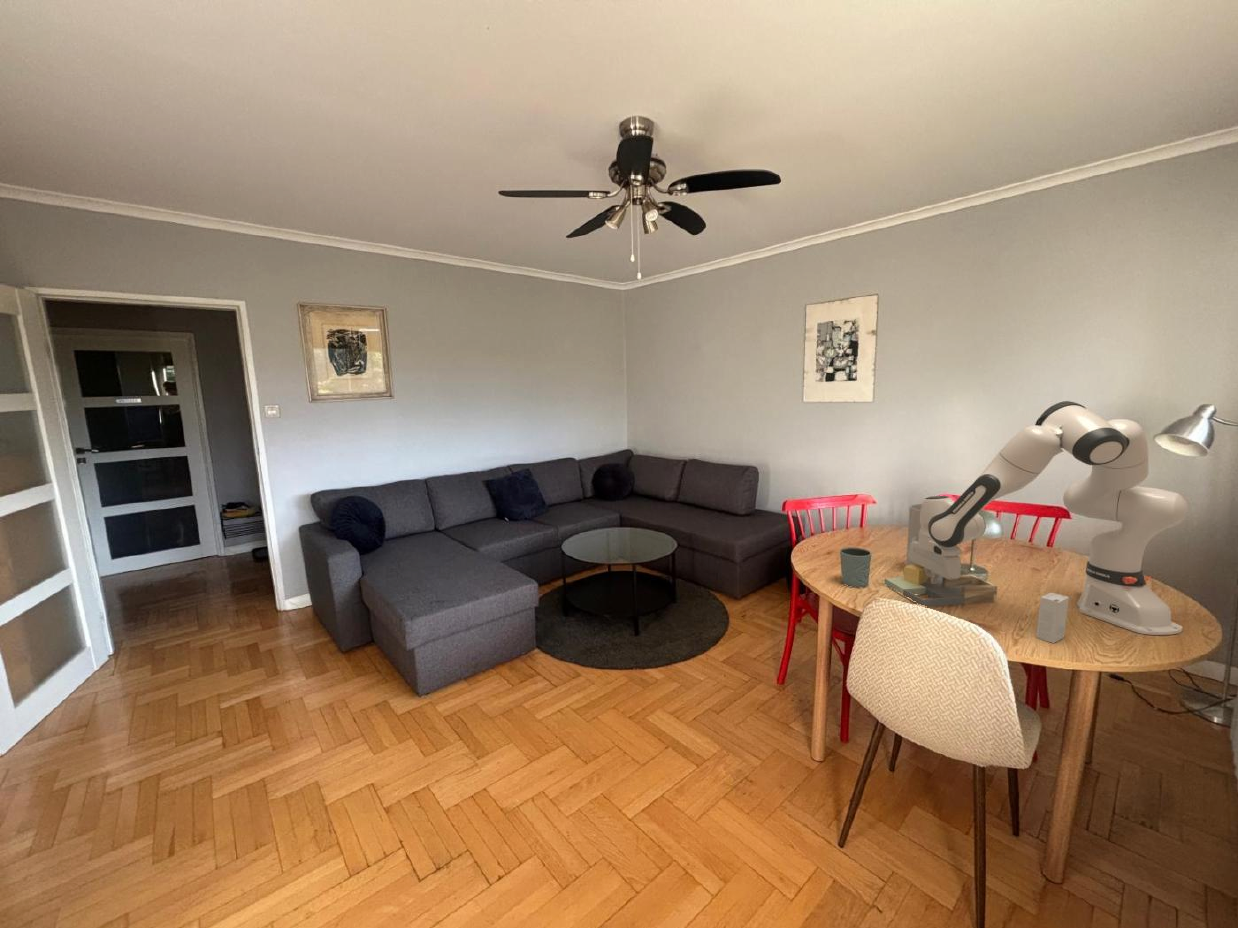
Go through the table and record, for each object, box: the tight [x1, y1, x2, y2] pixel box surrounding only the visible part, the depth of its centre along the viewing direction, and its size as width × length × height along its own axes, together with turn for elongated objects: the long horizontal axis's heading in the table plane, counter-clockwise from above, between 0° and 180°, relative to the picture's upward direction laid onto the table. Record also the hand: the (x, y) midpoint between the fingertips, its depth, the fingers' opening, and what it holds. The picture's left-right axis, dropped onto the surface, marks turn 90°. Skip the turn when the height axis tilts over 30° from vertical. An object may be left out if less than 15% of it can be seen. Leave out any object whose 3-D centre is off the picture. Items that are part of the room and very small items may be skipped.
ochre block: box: [903, 564, 927, 585], centre depth 171 cm, size 5×5×5 cm
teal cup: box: [839, 546, 872, 588], centre depth 177 cm, size 10×10×12 cm
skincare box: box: [1035, 592, 1070, 644], centre depth 135 cm, size 6×4×12 cm
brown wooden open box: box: [942, 573, 998, 605], centre depth 163 cm, size 10×11×5 cm
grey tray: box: [884, 576, 997, 608], centre depth 167 cm, size 19×26×2 cm
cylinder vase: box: [905, 503, 933, 575], centre depth 183 cm, size 12×12×25 cm
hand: (931, 582), depth 167 cm, fingers closed
